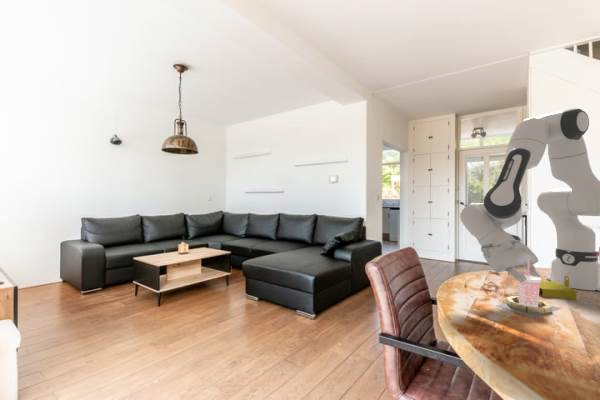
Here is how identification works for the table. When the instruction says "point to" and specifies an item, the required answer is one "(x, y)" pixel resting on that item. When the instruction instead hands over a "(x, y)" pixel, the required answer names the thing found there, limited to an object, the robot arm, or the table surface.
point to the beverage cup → (529, 290)
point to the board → (523, 311)
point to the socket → (543, 309)
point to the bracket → (558, 289)
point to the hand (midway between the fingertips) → (530, 279)
